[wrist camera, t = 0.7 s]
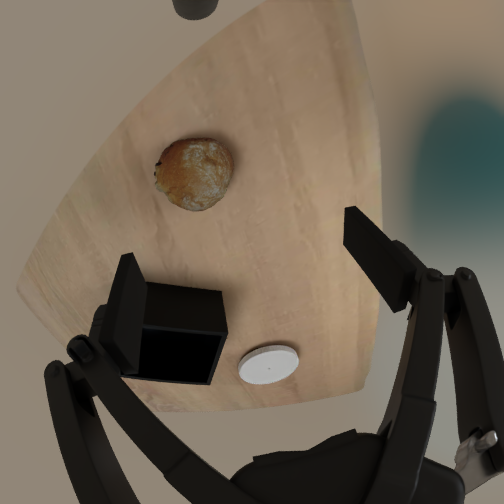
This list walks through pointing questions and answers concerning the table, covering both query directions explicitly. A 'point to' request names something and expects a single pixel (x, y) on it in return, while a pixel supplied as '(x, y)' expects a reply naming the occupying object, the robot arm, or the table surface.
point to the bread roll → (194, 173)
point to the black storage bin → (181, 335)
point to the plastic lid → (268, 364)
